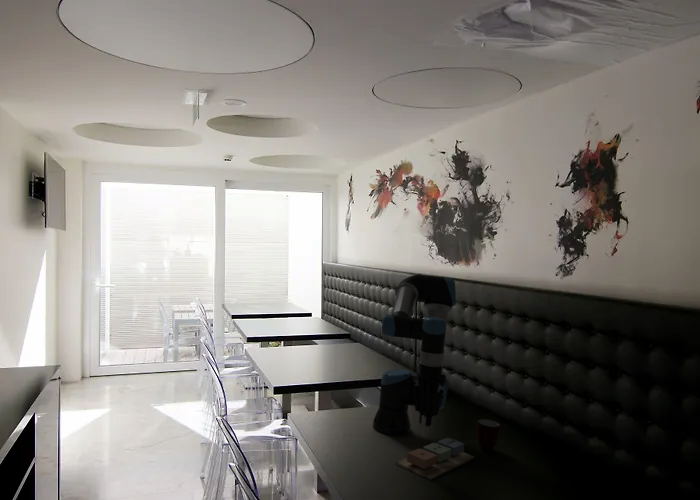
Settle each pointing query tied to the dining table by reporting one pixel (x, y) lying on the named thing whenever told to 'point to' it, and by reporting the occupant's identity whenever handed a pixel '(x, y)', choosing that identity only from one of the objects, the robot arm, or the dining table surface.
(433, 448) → the tile
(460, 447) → the tile
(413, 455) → the tile
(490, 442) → the mug
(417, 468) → the board
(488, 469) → the dining table surface
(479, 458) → the dining table surface
